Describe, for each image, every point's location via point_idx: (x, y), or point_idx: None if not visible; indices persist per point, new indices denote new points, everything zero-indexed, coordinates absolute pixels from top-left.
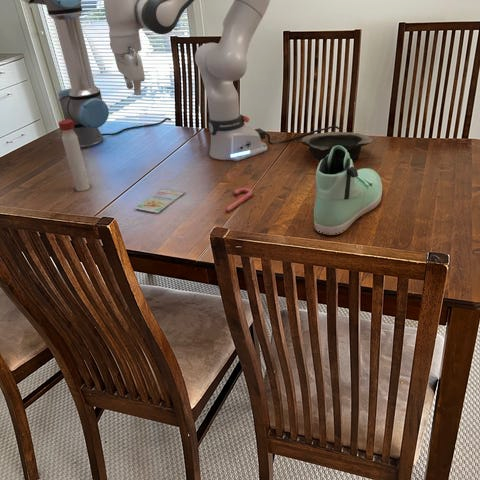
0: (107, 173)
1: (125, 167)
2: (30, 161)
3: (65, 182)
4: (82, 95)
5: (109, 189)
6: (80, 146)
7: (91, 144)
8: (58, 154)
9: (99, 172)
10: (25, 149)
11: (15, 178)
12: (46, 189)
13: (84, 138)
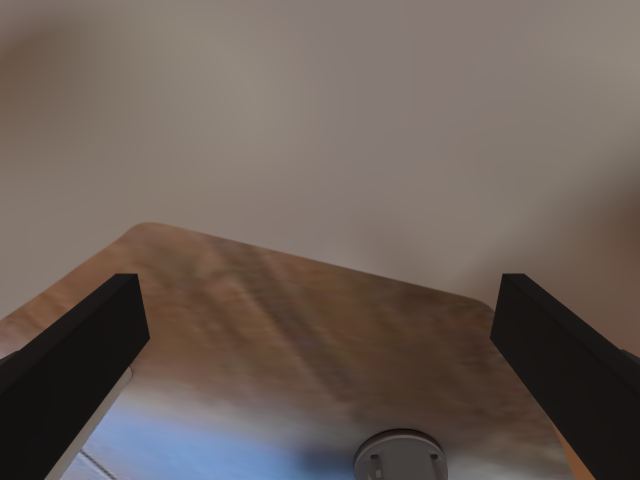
0: (165, 429)
1: (173, 462)
2: (390, 341)
3: (177, 356)
4: None
5: None
6: (363, 450)
7: (354, 469)
8: (378, 400)
9: (183, 421)
10: (499, 357)
11: (296, 282)
12: (164, 315)
13: (362, 478)
